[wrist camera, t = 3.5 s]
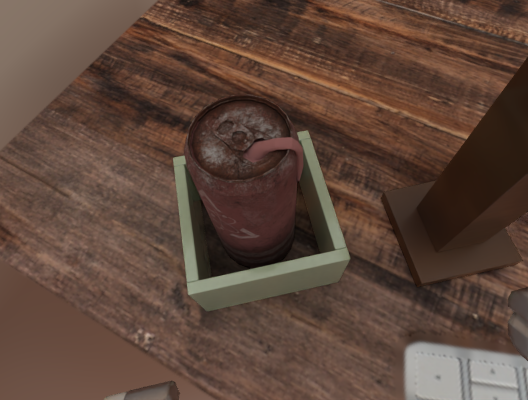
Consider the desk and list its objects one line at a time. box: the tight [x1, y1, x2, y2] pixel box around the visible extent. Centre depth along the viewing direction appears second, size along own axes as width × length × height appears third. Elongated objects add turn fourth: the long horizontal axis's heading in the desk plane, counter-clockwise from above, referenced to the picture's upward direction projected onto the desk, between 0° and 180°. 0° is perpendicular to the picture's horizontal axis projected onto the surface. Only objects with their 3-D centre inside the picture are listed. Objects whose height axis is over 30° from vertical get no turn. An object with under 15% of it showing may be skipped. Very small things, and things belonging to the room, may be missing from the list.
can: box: [184, 95, 303, 268], centre depth 24 cm, size 6×6×14 cm
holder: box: [173, 131, 350, 312], centre depth 28 cm, size 11×11×6 cm
